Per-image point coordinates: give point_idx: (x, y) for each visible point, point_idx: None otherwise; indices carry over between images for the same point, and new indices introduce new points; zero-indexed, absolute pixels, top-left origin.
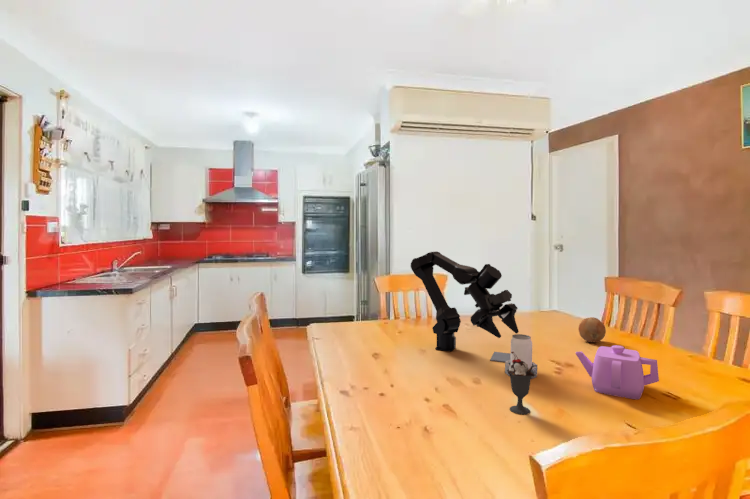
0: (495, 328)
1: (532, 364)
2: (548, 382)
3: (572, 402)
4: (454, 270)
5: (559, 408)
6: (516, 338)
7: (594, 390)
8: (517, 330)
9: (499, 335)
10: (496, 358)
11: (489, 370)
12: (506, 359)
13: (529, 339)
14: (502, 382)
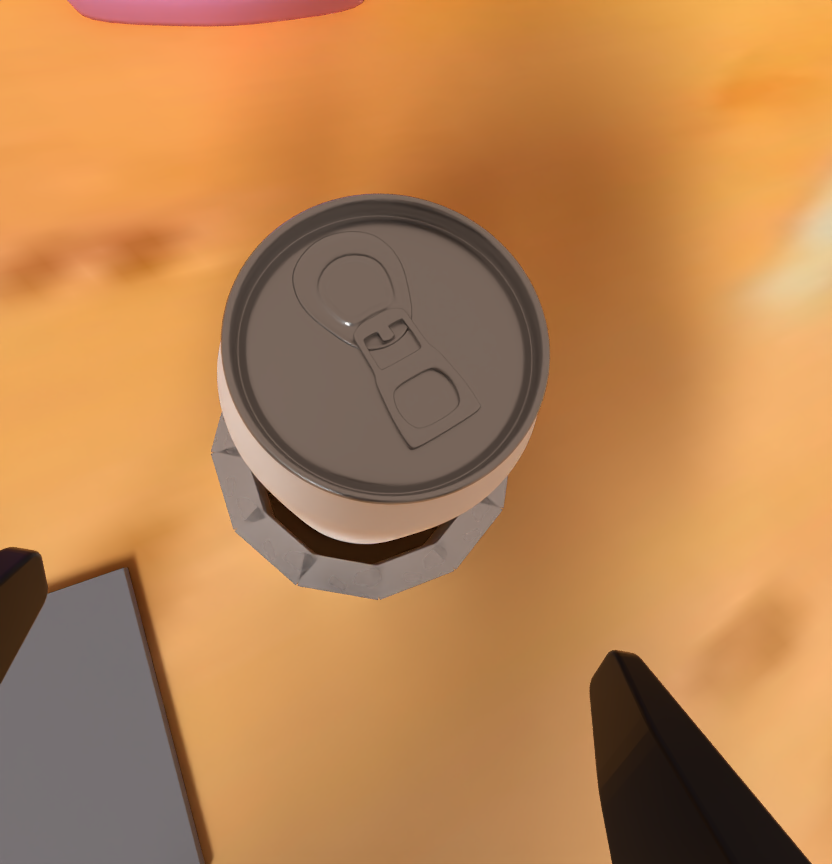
0: (784, 842)
1: None
2: None
3: (607, 70)
4: None
5: (724, 103)
6: (546, 368)
7: (348, 8)
8: (14, 568)
9: (650, 679)
10: (118, 847)
11: (479, 702)
12: (85, 738)
13: (402, 212)
14: (636, 482)
